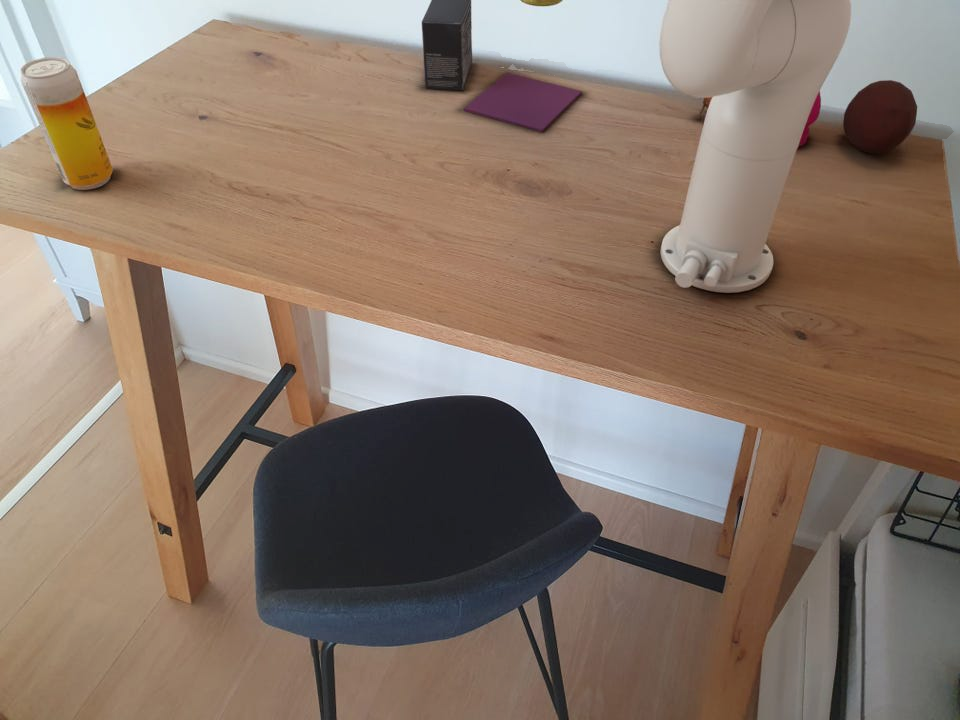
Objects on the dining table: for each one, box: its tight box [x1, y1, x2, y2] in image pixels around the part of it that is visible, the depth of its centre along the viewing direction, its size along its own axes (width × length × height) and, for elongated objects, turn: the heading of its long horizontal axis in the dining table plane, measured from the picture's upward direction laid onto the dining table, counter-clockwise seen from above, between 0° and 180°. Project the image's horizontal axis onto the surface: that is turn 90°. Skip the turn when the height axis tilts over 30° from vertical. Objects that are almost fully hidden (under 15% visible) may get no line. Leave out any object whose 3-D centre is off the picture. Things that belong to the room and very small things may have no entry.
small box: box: [421, 0, 473, 92], centre depth 119 cm, size 11×6×10 cm, turn 173°
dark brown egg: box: [842, 79, 918, 155], centre depth 104 cm, size 9×12×9 cm
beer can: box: [20, 56, 114, 191], centre depth 94 cm, size 6×6×15 cm
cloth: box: [463, 72, 583, 133], centre depth 116 cm, size 14×13×1 cm
